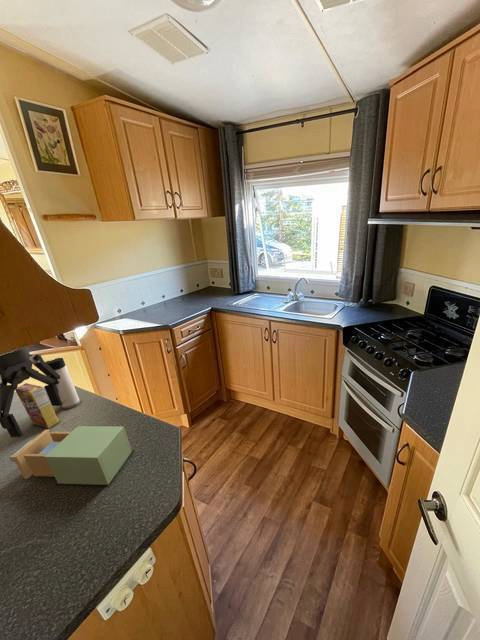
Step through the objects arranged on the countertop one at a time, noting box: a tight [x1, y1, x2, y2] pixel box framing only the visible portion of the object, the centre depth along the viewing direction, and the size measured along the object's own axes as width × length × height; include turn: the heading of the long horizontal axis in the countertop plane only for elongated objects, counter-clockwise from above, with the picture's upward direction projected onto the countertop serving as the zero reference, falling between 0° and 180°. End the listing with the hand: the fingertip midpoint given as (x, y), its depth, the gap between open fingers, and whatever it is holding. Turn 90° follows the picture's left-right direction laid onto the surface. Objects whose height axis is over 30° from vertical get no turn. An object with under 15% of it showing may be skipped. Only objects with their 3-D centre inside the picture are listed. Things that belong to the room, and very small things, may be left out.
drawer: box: [8, 429, 72, 480], centre depth 83 cm, size 18×11×8 cm, turn 86°
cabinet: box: [45, 425, 133, 486], centre depth 82 cm, size 15×13×10 cm
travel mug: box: [45, 357, 81, 409], centre depth 112 cm, size 6×7×20 cm
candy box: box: [14, 382, 60, 429], centre depth 102 cm, size 9×4×15 cm, turn 69°
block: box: [39, 442, 60, 454], centre depth 83 cm, size 5×5×5 cm
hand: (39, 419), depth 78 cm, fingers open, 13 cm apart
